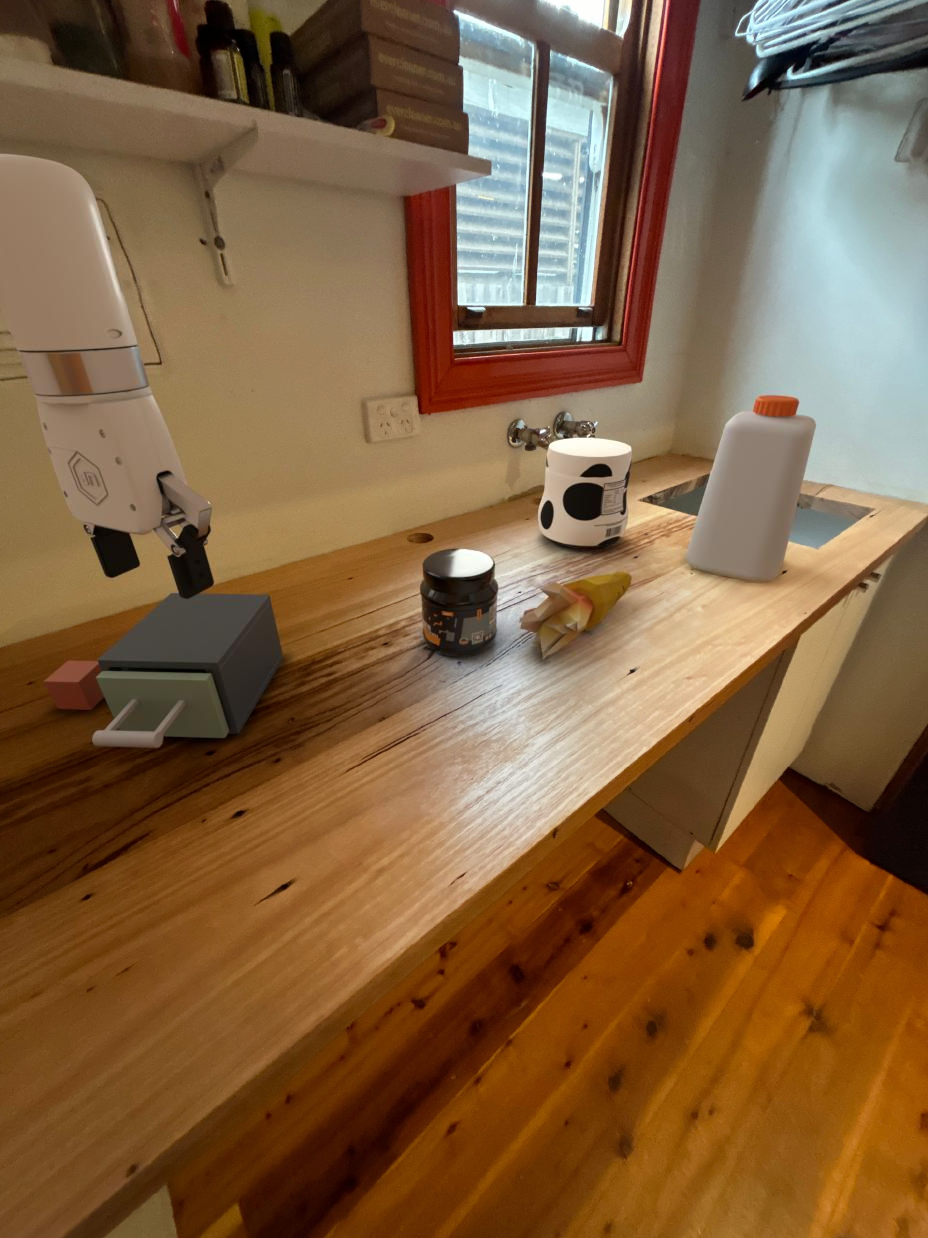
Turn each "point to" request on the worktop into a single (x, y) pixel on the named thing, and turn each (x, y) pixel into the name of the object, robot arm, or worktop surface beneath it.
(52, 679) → the block
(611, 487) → the milk container
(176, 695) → the drawer
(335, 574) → the worktop surface
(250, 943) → the worktop surface
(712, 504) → the plastic bottle
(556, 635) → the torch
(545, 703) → the worktop surface
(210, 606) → the cabinet
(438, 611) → the supplement container
